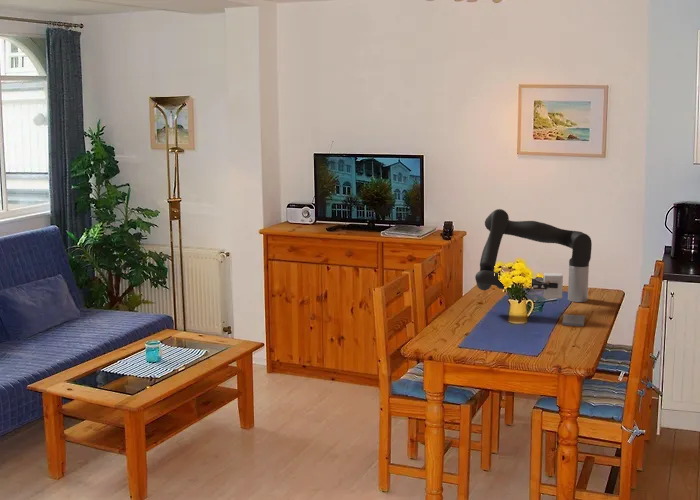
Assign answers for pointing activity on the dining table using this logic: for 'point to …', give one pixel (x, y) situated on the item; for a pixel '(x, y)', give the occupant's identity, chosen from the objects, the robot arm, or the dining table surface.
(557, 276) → the small box
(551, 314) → the dining table surface
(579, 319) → the slate tile
